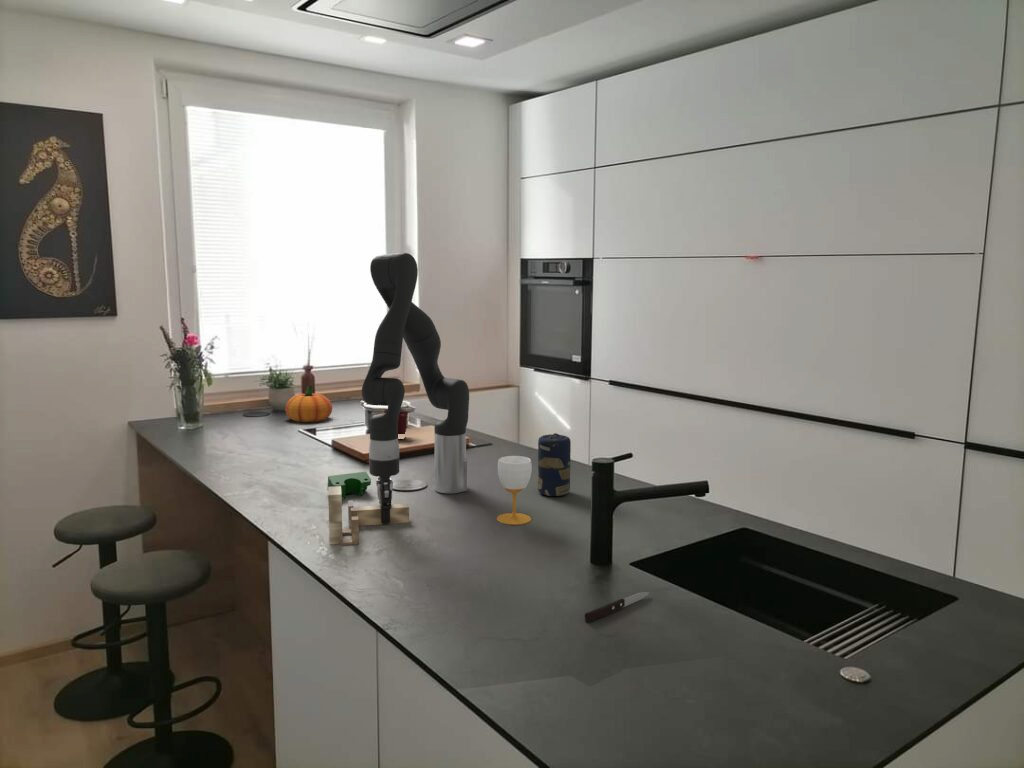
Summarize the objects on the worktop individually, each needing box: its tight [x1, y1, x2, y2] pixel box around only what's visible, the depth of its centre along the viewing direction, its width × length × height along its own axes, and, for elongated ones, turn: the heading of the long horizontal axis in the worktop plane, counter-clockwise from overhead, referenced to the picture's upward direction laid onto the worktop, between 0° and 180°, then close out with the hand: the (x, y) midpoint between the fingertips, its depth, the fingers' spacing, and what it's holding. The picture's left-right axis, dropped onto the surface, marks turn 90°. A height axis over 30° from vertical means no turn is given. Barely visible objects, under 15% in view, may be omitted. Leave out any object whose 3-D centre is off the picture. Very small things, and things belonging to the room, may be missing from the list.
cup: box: [496, 455, 533, 526], centre depth 191 cm, size 9×9×16 cm
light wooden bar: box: [347, 500, 410, 529], centre depth 189 cm, size 15×5×6 cm, turn 104°
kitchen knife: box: [584, 591, 650, 624], centre depth 141 cm, size 18×1×2 cm, turn 130°
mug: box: [383, 408, 408, 434], centre depth 284 cm, size 12×9×11 cm
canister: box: [537, 432, 572, 497], centre depth 214 cm, size 10×10×18 cm
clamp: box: [327, 471, 372, 499], centre depth 211 cm, size 12×6×9 cm, turn 113°
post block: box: [327, 486, 360, 546], centre depth 176 cm, size 7×9×12 cm
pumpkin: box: [284, 385, 333, 423], centre depth 318 cm, size 19×19×15 cm
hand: (385, 520), depth 189 cm, fingers closed on light wooden bar, 3 cm apart
